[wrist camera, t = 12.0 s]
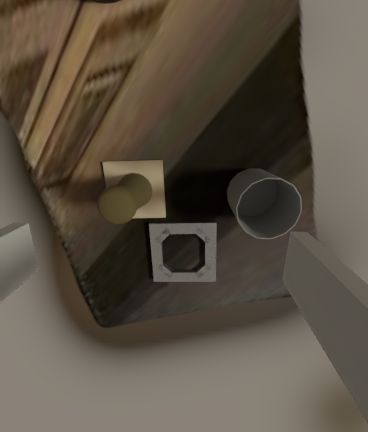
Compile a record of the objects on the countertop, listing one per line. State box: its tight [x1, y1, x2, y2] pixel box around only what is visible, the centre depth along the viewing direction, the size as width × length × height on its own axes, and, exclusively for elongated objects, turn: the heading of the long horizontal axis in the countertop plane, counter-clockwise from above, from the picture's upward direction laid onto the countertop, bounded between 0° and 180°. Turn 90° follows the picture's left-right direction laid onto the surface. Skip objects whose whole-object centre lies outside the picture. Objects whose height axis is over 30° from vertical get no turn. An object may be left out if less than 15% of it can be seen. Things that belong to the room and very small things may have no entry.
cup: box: [227, 168, 302, 239], centre depth 35 cm, size 8×8×10 cm
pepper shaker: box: [97, 173, 152, 224], centre depth 34 cm, size 6×6×11 cm
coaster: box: [103, 160, 166, 218], centre depth 40 cm, size 10×10×1 cm
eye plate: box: [149, 221, 216, 282], centre depth 43 cm, size 12×12×1 cm
